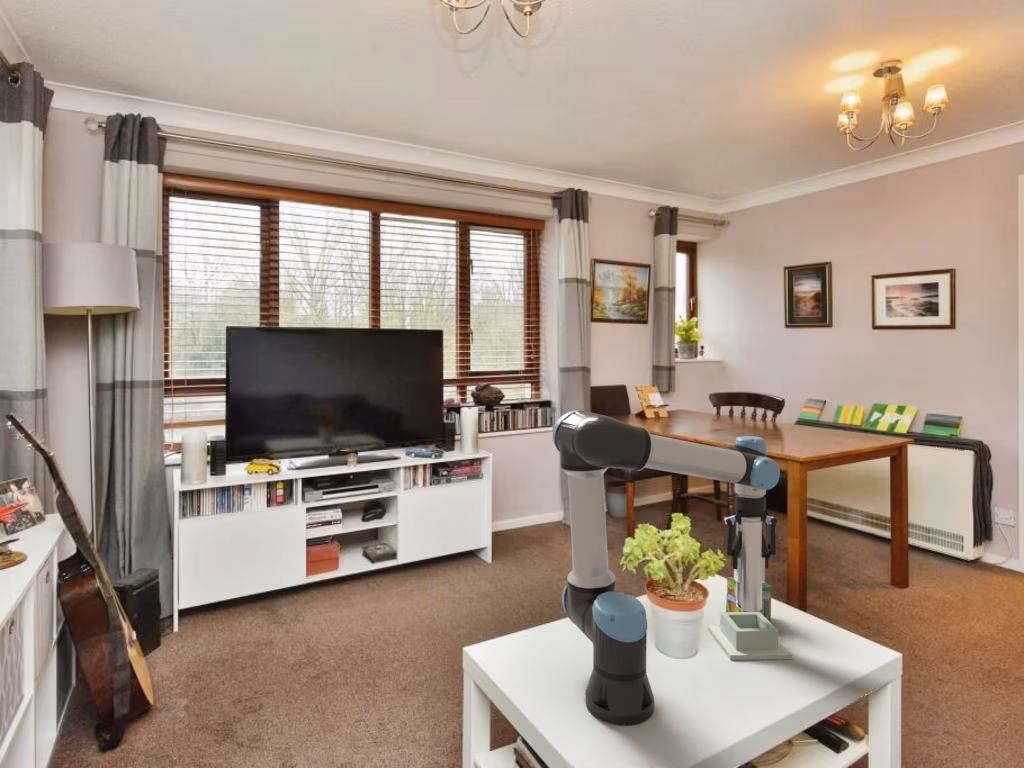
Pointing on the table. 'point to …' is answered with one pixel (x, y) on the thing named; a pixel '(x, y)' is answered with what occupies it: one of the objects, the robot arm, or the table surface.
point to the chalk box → (733, 608)
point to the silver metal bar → (750, 565)
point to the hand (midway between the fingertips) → (749, 580)
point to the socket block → (748, 637)
